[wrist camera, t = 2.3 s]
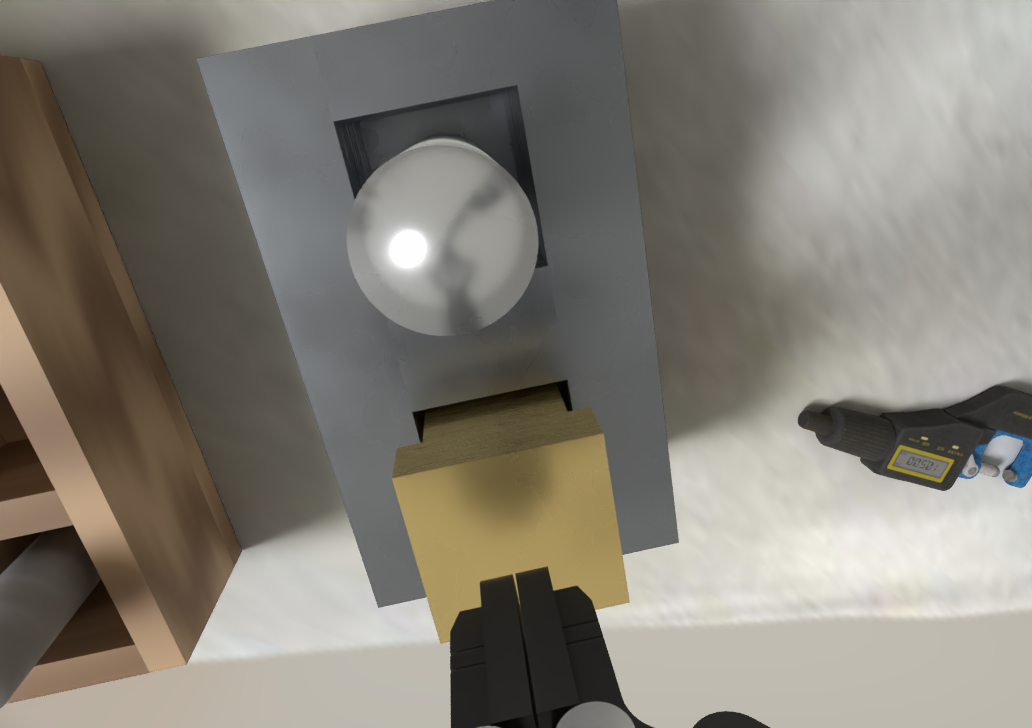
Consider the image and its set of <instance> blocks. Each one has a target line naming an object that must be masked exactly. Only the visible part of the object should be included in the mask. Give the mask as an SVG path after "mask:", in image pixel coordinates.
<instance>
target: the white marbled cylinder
mask: <svg viewBox="0 0 1032 728" xmlns="http://www.w3.org/2000/svg"><path fill="white" fill-rule="evenodd" d="M347 251H348V256H349V261H350V265H351V268H352V271H353V274H354V277H355V279H356V280H357V282H358V284H359V286H360V288H361V290H362V291H363V293H364V294H365V296H366V297H367V298H368V299H369V301H370V302H371V303H372V304H373V305H374V306H375V307H376V308H377V309H378V310H379V311H380V312H381V313H382V314H384V315H385V316H386V317H388V318H389V319H391V320H392V321H394V322H395V323H397V324H399V325H401V326H403V327H405V328H407V329H410V330H413V331H415V332H419V333H423V334H428V335H436V336H454V335H461V334H466V333H470V332H474V331H477V330H479V329H481V328H484V327H486V326H488V325H490V324H492V323H493V322H495V321H497V320H498V319H499V318H501V317H502V316H503V315H505V314H506V313H507V312H508V311H509V310H510V309H511V308H512V307H513V306H514V305H515V304H516V303H517V301H518V300H519V299H520V298H521V296H522V295H523V293H524V292H525V290H526V288H527V287H528V285H529V282H530V280H531V278H532V275H533V272H534V269H535V266H536V261H537V255H538V231H537V224H536V220H535V216H534V213H533V210H532V207H531V205H530V202H529V200H528V199H527V197H526V195H525V193H524V191H523V190H522V188H521V187H520V186H519V184H518V183H517V181H516V180H515V179H514V178H513V177H512V176H511V175H510V174H509V173H508V172H507V171H506V170H505V169H504V168H503V167H501V166H500V165H499V164H498V163H497V162H496V161H494V160H493V159H492V158H491V157H490V156H489V155H487V154H486V153H485V152H484V151H483V150H482V149H480V148H479V147H478V146H477V145H476V144H474V143H473V142H472V141H470V140H469V139H467V138H465V137H463V136H460V135H457V134H451V133H440V134H435V135H431V136H429V137H427V138H425V139H423V140H421V141H420V142H418V143H416V144H415V145H413V146H412V147H410V148H408V149H407V150H405V151H403V152H402V153H400V154H398V155H397V156H395V157H393V158H392V159H390V160H389V161H387V162H385V163H384V164H383V165H382V166H381V167H379V168H378V169H377V170H376V171H375V172H374V173H373V174H372V175H371V176H370V177H369V178H368V179H367V181H366V182H365V183H364V185H363V186H362V188H361V189H360V191H359V193H358V195H357V197H356V199H355V201H354V203H353V206H352V209H351V212H350V215H349V220H348V226H347Z"/></svg>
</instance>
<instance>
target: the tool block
mask: <svg viewBox="0 0 1032 728" xmlns="http://www.w3.org/2000/svg"><path fill="white" fill-rule="evenodd" d="M196 60H197V63H198V66H199V69H200V72H201V75H202V78H203V81H204V84H205V87H206V90H207V93H208V96H209V99H210V102H211V105H212V108H213V111H214V114H215V117H216V120H217V123H218V126H219V129H220V132H221V135H222V138H223V141H224V144H225V147H226V150H227V153H228V156H229V159H230V162H231V165H232V168H233V171H234V174H235V177H236V180H237V183H238V186H239V189H240V192H241V195H242V198H243V201H244V204H245V207H246V210H247V213H248V216H249V219H250V222H251V225H252V228H253V231H254V234H255V237H256V240H257V243H258V246H259V249H260V252H261V255H262V258H263V261H264V264H265V267H266V271H267V274H268V277H269V280H270V283H271V286H272V289H273V292H274V295H275V298H276V301H277V304H278V307H279V310H280V313H281V316H282V319H283V322H284V325H285V328H286V331H287V334H288V337H289V340H290V343H291V346H292V349H293V352H294V355H295V358H296V361H297V364H298V367H299V370H300V373H301V376H302V379H303V382H304V385H305V388H306V391H307V394H308V397H309V400H310V403H311V406H312V409H313V412H314V415H315V418H316V421H317V424H318V427H319V430H320V433H321V436H322V439H323V442H324V445H325V448H326V451H327V454H328V457H329V460H330V463H331V466H332V469H333V472H334V475H335V478H336V481H337V484H338V487H339V490H340V493H341V496H342V499H343V502H344V505H345V508H346V511H347V514H348V517H349V521H350V524H351V527H352V530H353V533H354V536H355V539H356V542H357V545H358V548H359V551H360V554H361V557H362V560H363V563H364V566H365V569H366V572H367V575H368V578H369V581H370V584H371V587H372V590H373V593H374V596H375V599H376V602H377V605H378V608H379V607H384V606H388V605H393V604H398V603H402V602H407V601H412V600H416V599H421V598H425V597H427V596H426V593H425V589H424V586H423V582H422V579H421V576H420V572H419V569H418V566H417V562H416V559H415V555H414V552H413V549H412V545H411V542H410V538H409V535H408V532H407V528H406V525H405V522H404V518H403V515H402V511H401V508H400V505H399V501H398V498H397V495H396V491H395V488H394V484H393V481H392V474H393V468H394V462H395V456H396V450H397V448H399V447H404V446H409V445H413V444H418V443H423V432H424V421H425V409H429V408H434V407H439V406H443V405H448V404H453V403H458V402H463V401H467V400H472V399H477V398H482V397H486V396H491V395H496V394H501V393H505V392H510V391H515V390H520V389H524V388H529V387H534V386H539V385H543V384H548V383H553V382H556V384H557V387H558V389H559V392H560V394H561V397H562V399H563V402H564V404H565V407H566V409H567V412H570V411H574V410H579V409H584V408H588V407H591V409H592V411H593V413H594V415H595V417H596V419H597V421H598V423H599V425H600V427H601V429H602V431H603V433H604V439H605V446H606V452H607V459H608V465H609V472H610V478H611V485H612V491H613V498H614V504H615V511H616V517H617V524H618V530H619V537H620V543H621V550H622V555H624V554H628V553H633V552H638V551H642V550H647V549H651V548H656V547H661V546H665V545H670V544H674V543H679V540H678V531H677V522H676V514H675V505H674V496H673V487H672V479H671V470H670V461H669V452H668V444H667V435H666V426H665V417H664V409H663V400H662V391H661V382H660V373H659V365H658V356H657V347H656V338H655V330H654V321H653V312H652V303H651V295H650V286H649V277H648V268H647V260H646V251H645V242H644V233H643V224H642V216H641V207H640V198H639V189H638V181H637V172H636V163H635V154H634V146H633V137H632V128H631V119H630V111H629V102H628V93H627V84H626V76H625V67H624V58H623V49H622V40H621V32H620V23H619V14H618V5H617V0H494V1H488V2H483V3H478V4H473V5H468V6H463V7H458V8H453V9H448V10H443V11H437V12H432V13H427V14H422V15H417V16H412V17H407V18H402V19H397V20H392V21H386V22H381V23H376V24H371V25H366V26H361V27H356V28H351V29H346V30H341V31H335V32H330V33H325V34H320V35H315V36H310V37H305V38H300V39H295V40H290V41H284V42H279V43H274V44H269V45H264V46H259V47H254V48H249V49H244V50H239V51H233V52H228V53H223V54H218V55H213V56H208V57H203V58H198V59H196ZM440 133H451V134H457V135H460V136H463V137H465V138H467V139H469V140H470V141H472V142H473V143H474V144H476V145H477V146H478V147H479V148H480V149H482V150H483V151H484V152H485V153H486V154H487V155H489V156H490V157H491V158H492V159H493V160H494V161H496V162H497V163H498V164H499V165H500V166H501V167H503V168H504V169H505V170H506V171H507V172H508V173H509V174H510V175H511V176H512V177H513V178H514V179H515V180H516V181H517V183H518V184H519V186H520V187H521V188H522V190H523V191H524V193H525V195H526V197H527V199H528V200H529V202H530V205H531V207H532V210H533V213H534V216H535V220H536V224H537V231H538V255H537V261H536V266H535V269H534V272H533V275H532V278H531V280H530V282H529V285H528V287H527V288H526V290H525V292H524V293H523V295H522V296H521V298H520V299H519V300H518V301H517V303H516V304H515V305H514V306H513V307H512V308H511V309H510V310H509V311H508V312H507V313H506V314H505V315H503V316H502V317H501V318H499V319H498V320H497V321H495V322H493V323H492V324H490V325H488V326H486V327H484V328H481V329H479V330H477V331H474V332H470V333H466V334H461V335H454V336H436V335H428V334H423V333H419V332H415V331H413V330H410V329H407V328H405V327H403V326H401V325H399V324H397V323H395V322H394V321H392V320H391V319H389V318H388V317H386V316H385V315H384V314H382V313H381V312H380V311H379V310H378V309H377V308H376V307H375V306H374V305H373V304H372V303H371V302H370V301H369V299H368V298H367V297H366V296H365V294H364V293H363V291H362V290H361V288H360V286H359V284H358V282H357V280H356V279H355V277H354V274H353V271H352V268H351V265H350V261H349V256H348V251H347V226H348V220H349V215H350V212H351V209H352V206H353V203H354V201H355V199H356V197H357V195H358V193H359V191H360V189H361V188H362V186H363V185H364V183H365V182H366V181H367V179H368V178H369V177H370V176H371V175H372V174H373V173H374V172H375V171H376V170H377V169H378V168H379V167H381V166H382V165H383V164H384V163H385V162H387V161H389V160H390V159H392V158H393V157H395V156H397V155H398V154H400V153H402V152H403V151H405V150H407V149H408V148H410V147H412V146H413V145H415V144H416V143H418V142H420V141H421V140H423V139H425V138H427V137H429V136H431V135H435V134H440Z"/></svg>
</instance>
